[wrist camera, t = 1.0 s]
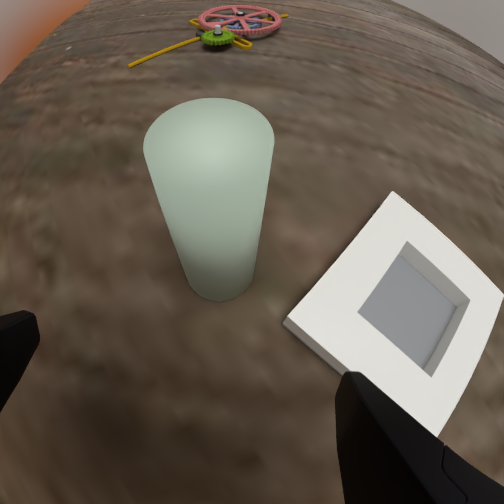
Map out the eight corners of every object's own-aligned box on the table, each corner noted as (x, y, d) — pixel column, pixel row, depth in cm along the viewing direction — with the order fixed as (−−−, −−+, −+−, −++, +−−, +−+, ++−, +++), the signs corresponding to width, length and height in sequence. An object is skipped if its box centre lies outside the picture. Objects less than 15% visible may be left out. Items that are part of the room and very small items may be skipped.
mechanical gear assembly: (318, 32, 42) (257, 8, 47) (321, 11, 38) (258, -9, 43) (155, 90, 33) (111, 58, 38) (149, 61, 29) (105, 36, 34)
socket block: (417, 438, 18) (434, 440, 16) (281, 324, 21) (287, 316, 19) (487, 303, 23) (503, 295, 21) (381, 206, 26) (392, 190, 24)
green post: (219, 316, 22) (203, 214, 10) (172, 269, 23) (119, 141, 11) (268, 268, 23) (300, 137, 12) (219, 226, 25) (212, 85, 13)
